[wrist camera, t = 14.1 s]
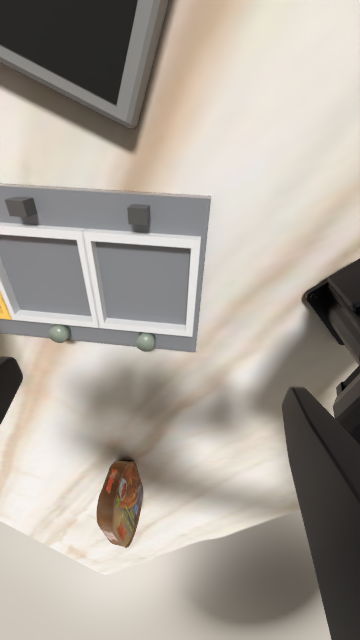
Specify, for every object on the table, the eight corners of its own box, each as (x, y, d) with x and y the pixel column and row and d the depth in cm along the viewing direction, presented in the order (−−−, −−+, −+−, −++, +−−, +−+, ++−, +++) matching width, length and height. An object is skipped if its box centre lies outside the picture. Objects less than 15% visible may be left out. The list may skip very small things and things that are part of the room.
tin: (145, 494, 45) (133, 556, 38) (128, 492, 46) (113, 554, 39) (131, 449, 37) (113, 519, 30) (111, 448, 37) (88, 517, 30)
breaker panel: (210, 196, 17) (210, 202, 15) (195, 345, 24) (194, 361, 22) (-135, 175, 18) (-173, 178, 16) (-49, 321, 26) (-68, 334, 24)
